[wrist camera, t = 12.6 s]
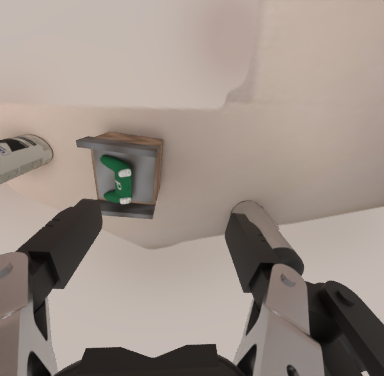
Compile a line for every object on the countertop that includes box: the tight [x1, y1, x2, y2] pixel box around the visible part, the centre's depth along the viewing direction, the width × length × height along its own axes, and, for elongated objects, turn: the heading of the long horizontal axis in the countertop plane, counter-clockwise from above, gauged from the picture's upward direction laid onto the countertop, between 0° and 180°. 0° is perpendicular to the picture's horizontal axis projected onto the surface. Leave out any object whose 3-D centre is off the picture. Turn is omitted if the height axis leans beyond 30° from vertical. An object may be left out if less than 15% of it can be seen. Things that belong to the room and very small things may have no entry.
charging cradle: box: [76, 132, 163, 219], centre depth 33 cm, size 12×14×12 cm
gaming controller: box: [100, 155, 132, 204], centre depth 29 cm, size 9×4×6 cm
